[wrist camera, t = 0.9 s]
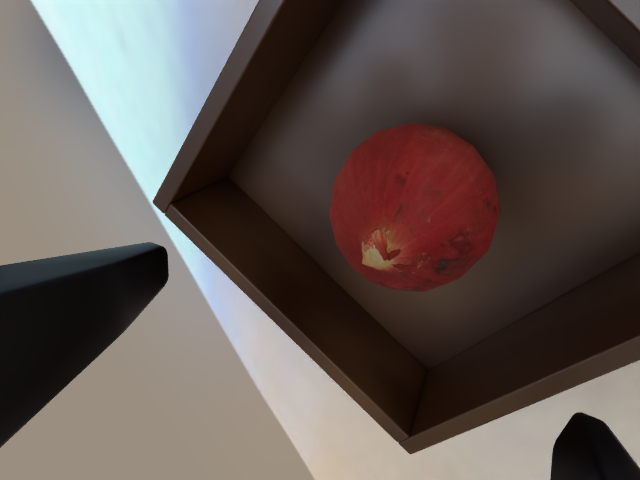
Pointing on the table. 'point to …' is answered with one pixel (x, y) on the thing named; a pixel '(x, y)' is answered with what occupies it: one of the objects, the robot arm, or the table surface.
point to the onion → (414, 207)
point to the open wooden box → (496, 150)
